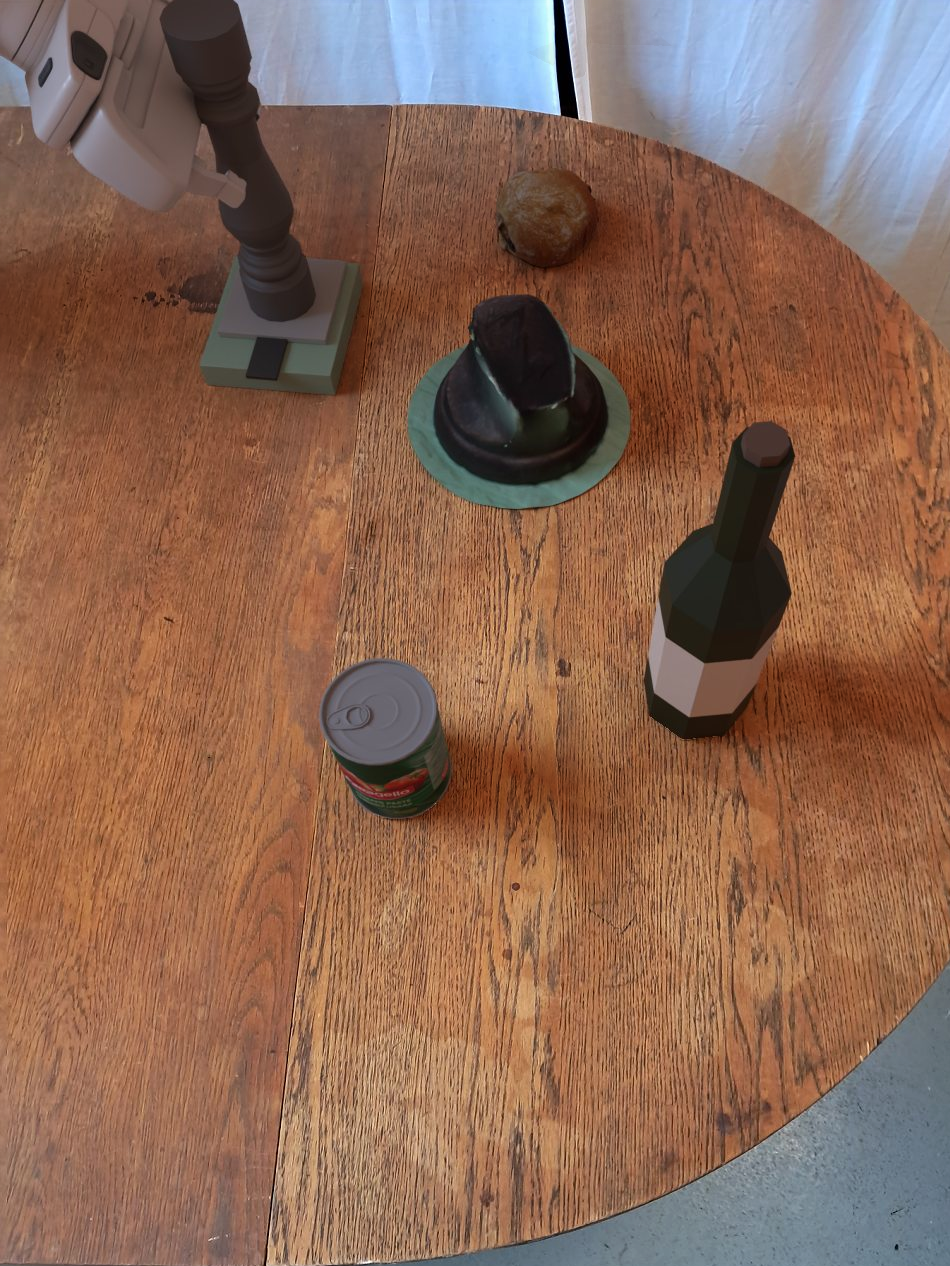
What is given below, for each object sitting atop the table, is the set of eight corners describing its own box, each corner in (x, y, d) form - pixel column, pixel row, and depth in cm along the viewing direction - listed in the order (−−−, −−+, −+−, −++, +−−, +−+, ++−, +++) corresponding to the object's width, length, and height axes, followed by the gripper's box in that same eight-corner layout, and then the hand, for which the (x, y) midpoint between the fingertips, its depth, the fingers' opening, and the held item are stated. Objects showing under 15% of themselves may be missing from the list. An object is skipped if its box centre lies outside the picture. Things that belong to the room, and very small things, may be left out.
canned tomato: (439, 714, 81) (423, 645, 71) (462, 805, 78) (449, 747, 68) (339, 738, 80) (309, 672, 70) (358, 832, 77) (330, 776, 67)
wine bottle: (711, 631, 84) (788, 357, 57) (768, 713, 81) (878, 464, 54) (622, 675, 83) (657, 414, 55) (677, 760, 79) (743, 527, 52)
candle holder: (237, 313, 95) (140, 34, 72) (264, 267, 98) (178, -18, 75) (300, 328, 94) (222, 50, 72) (326, 280, 97) (258, -3, 74)
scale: (204, 394, 95) (193, 369, 92) (242, 275, 102) (233, 248, 99) (333, 404, 95) (326, 379, 92) (363, 284, 101) (357, 257, 98)
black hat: (683, 444, 91) (490, 553, 87) (578, 395, 105) (407, 488, 101) (643, 274, 82) (425, 387, 78) (534, 246, 96) (344, 341, 92)
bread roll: (491, 250, 108) (461, 205, 100) (558, 171, 106) (532, 119, 99) (555, 303, 104) (529, 260, 97) (625, 221, 103) (603, 172, 96)
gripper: (87, -23, 81) (245, 98, 90) (31, 155, 72) (213, 269, 81) (123, -88, 77) (285, 46, 86) (69, 92, 68) (255, 220, 77)
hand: (250, 156), depth 83 cm, fingers open, 8 cm apart
